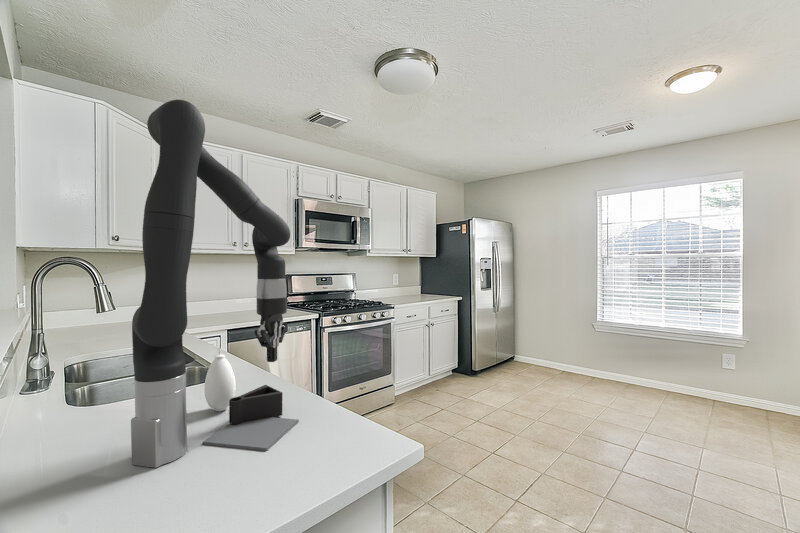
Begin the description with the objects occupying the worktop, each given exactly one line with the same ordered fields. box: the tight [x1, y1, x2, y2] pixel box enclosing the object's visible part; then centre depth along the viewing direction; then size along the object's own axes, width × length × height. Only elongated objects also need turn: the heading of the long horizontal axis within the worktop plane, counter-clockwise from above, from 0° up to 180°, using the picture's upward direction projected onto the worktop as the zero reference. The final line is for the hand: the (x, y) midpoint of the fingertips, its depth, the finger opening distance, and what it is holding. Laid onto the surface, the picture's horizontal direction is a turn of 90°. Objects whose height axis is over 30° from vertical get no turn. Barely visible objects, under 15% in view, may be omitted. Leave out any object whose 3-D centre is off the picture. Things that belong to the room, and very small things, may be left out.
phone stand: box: [228, 384, 283, 425], centre depth 99 cm, size 9×6×12 cm
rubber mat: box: [202, 417, 300, 452], centre depth 91 cm, size 15×16×1 cm
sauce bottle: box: [203, 345, 237, 413], centre depth 105 cm, size 8×8×18 cm
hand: (272, 361), depth 100 cm, fingers closed
